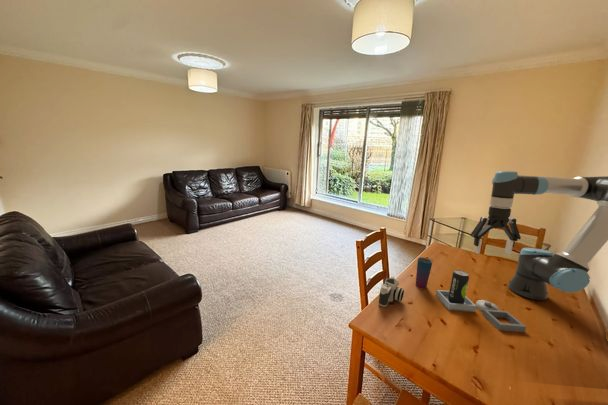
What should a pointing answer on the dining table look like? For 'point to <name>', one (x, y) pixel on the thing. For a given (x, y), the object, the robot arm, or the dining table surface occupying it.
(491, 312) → the grey square frame
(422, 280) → the cup
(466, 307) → the tray
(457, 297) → the beverage can
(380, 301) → the camera
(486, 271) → the dining table surface
